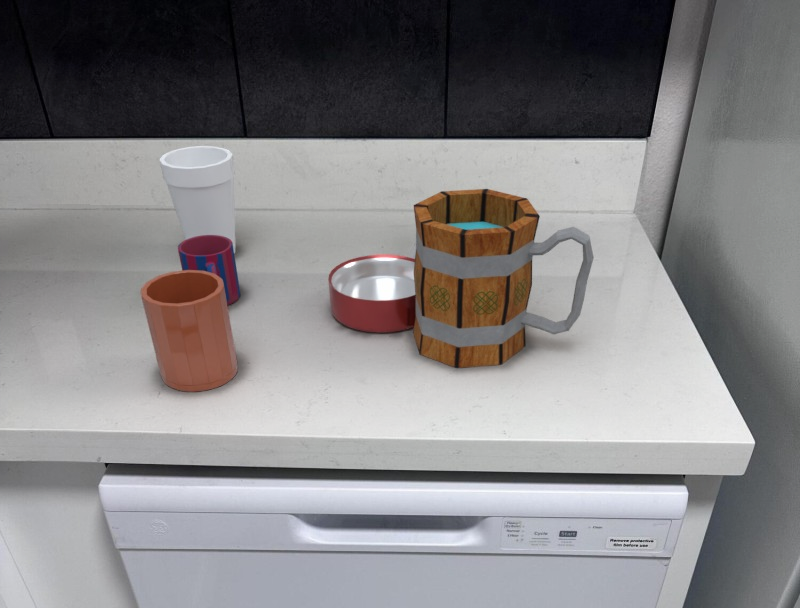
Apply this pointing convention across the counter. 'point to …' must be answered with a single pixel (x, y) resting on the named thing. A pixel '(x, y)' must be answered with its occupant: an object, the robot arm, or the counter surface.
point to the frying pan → (374, 293)
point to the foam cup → (202, 190)
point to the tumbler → (190, 329)
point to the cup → (212, 260)
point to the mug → (481, 276)
